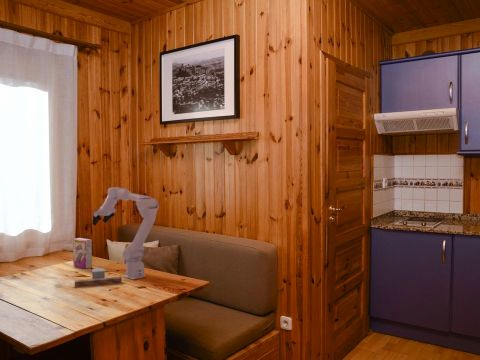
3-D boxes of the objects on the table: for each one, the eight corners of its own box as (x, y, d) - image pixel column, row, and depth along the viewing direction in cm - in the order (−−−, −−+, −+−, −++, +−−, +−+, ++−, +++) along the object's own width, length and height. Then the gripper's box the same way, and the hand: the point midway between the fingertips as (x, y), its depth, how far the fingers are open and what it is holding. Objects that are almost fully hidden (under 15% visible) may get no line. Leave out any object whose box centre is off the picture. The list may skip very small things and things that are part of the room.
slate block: (104, 277, 224) (104, 268, 223) (104, 280, 218) (104, 271, 218) (92, 278, 222) (92, 269, 222) (92, 281, 216) (92, 271, 216)
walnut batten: (121, 281, 216) (121, 276, 216) (121, 283, 213) (121, 278, 213) (75, 285, 209) (74, 280, 209) (74, 287, 206) (74, 281, 206)
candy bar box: (72, 266, 247) (72, 238, 246) (80, 265, 251) (79, 237, 251) (85, 269, 241) (85, 240, 240) (92, 267, 245) (92, 239, 245)
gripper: (113, 198, 242) (104, 216, 247) (94, 202, 230) (84, 220, 235) (121, 206, 240) (111, 224, 245) (102, 210, 227) (92, 229, 232)
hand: (99, 223), depth 240 cm, fingers open, 7 cm apart
